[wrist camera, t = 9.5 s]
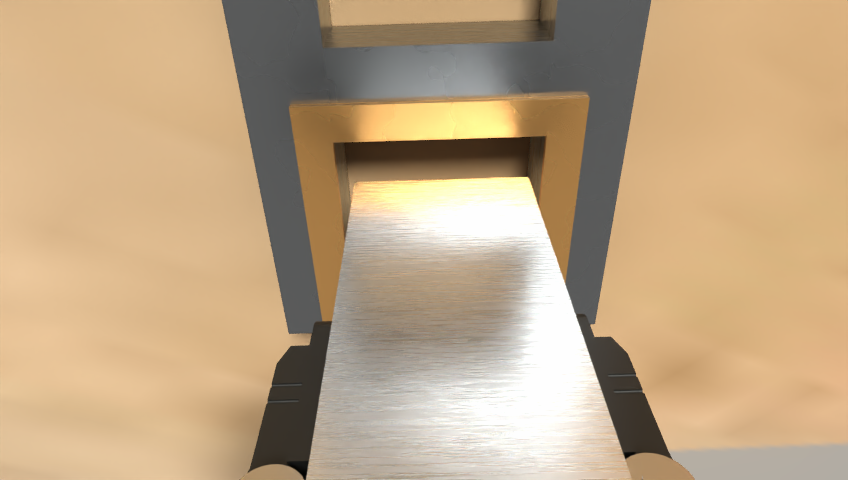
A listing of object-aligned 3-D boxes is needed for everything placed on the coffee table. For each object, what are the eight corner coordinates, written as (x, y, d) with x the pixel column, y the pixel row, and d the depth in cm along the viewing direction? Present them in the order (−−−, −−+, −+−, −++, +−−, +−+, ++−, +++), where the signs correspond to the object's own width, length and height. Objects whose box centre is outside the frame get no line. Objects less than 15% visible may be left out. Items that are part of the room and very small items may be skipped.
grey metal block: (355, 182, 15) (300, 510, 8) (528, 176, 15) (639, 500, 8) (368, 314, 18) (336, 661, 10) (517, 310, 18) (594, 654, 10)
